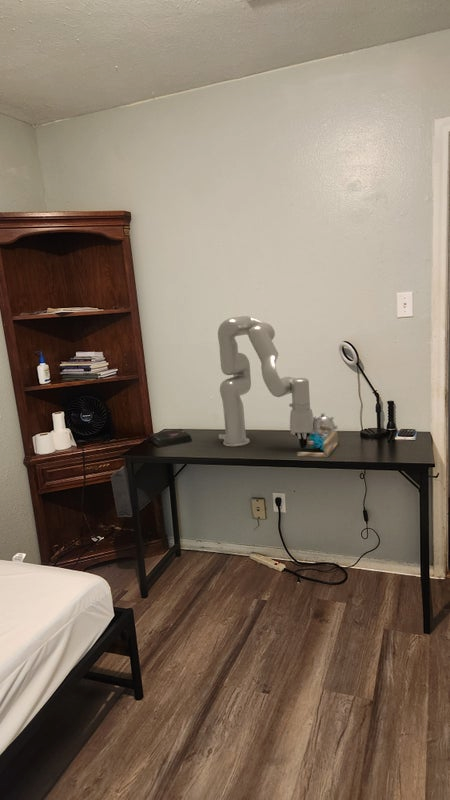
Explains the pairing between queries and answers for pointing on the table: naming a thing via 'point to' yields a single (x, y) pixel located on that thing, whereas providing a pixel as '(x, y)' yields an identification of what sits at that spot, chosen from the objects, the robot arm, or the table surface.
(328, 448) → the gear bay
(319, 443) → the blue spiky oval
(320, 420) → the gear
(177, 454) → the table surface
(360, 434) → the table surface
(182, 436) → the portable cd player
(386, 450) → the table surface
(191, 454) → the table surface
